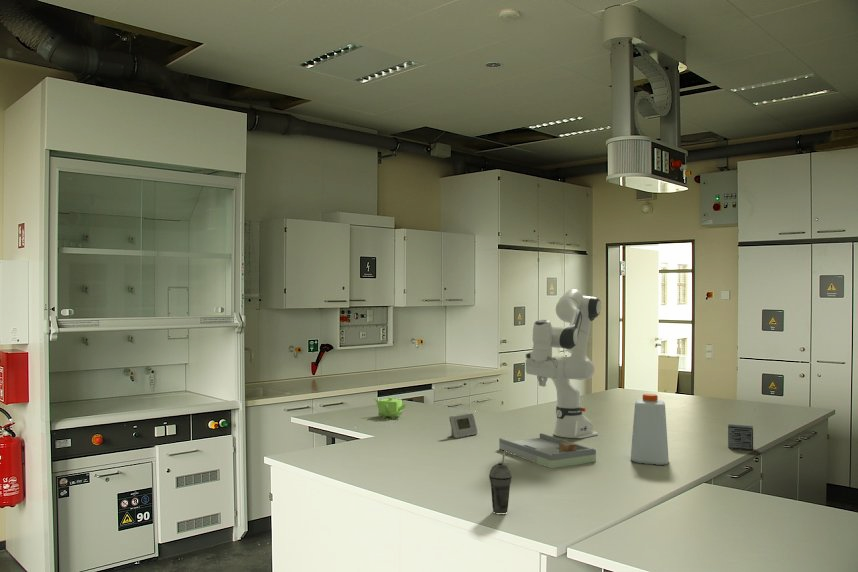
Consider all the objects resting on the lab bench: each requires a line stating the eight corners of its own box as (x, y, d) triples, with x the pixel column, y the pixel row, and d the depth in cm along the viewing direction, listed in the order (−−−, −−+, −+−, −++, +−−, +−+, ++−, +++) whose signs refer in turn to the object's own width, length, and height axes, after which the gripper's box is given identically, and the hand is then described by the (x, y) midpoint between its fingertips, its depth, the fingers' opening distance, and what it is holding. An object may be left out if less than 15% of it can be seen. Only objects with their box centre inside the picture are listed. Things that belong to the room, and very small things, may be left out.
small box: (753, 448, 307) (753, 425, 307) (753, 451, 301) (753, 428, 301) (728, 445, 311) (728, 423, 311) (727, 448, 305) (728, 425, 305)
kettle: (372, 416, 375) (373, 396, 376) (395, 414, 382) (395, 394, 383) (384, 420, 362) (384, 400, 363) (407, 418, 369) (407, 398, 370)
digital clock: (454, 439, 318) (454, 417, 318) (444, 435, 325) (444, 414, 325) (481, 436, 326) (482, 414, 326) (471, 432, 334) (471, 411, 334)
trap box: (541, 444, 309) (541, 432, 309) (595, 461, 278) (595, 448, 278) (499, 449, 298) (499, 437, 298) (551, 468, 266) (551, 454, 266)
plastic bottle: (668, 458, 286) (668, 393, 286) (668, 466, 271) (669, 398, 272) (631, 455, 290) (632, 391, 291) (630, 463, 276) (630, 396, 277)
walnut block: (568, 453, 279) (568, 441, 279) (576, 456, 274) (576, 444, 274) (559, 454, 276) (559, 442, 276) (567, 457, 272) (567, 445, 272)
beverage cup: (486, 509, 215) (487, 447, 215) (509, 508, 215) (509, 447, 215) (490, 516, 207) (491, 452, 208) (513, 516, 208) (514, 452, 208)
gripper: (562, 357, 294) (562, 388, 294) (533, 353, 312) (533, 382, 312) (551, 358, 291) (551, 389, 291) (523, 354, 309) (523, 383, 309)
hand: (542, 386), depth 302 cm, fingers closed
